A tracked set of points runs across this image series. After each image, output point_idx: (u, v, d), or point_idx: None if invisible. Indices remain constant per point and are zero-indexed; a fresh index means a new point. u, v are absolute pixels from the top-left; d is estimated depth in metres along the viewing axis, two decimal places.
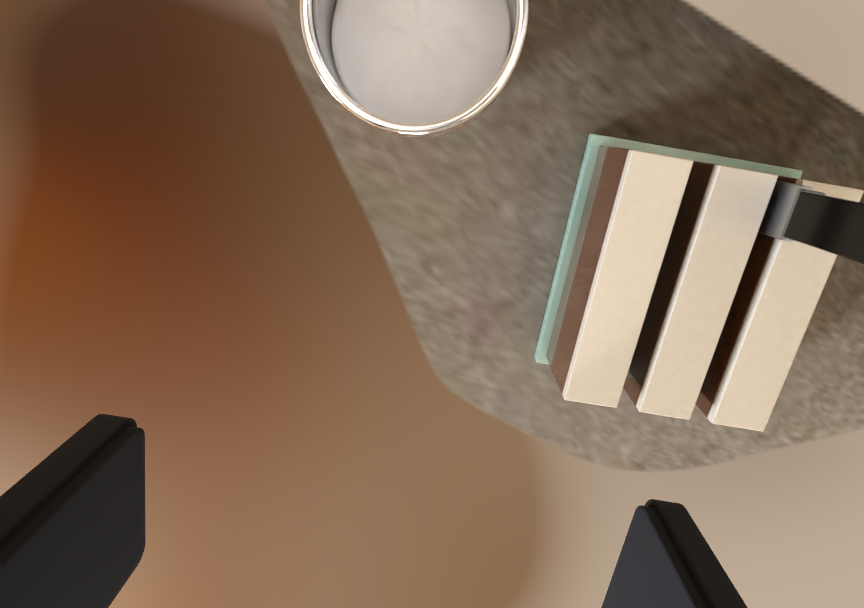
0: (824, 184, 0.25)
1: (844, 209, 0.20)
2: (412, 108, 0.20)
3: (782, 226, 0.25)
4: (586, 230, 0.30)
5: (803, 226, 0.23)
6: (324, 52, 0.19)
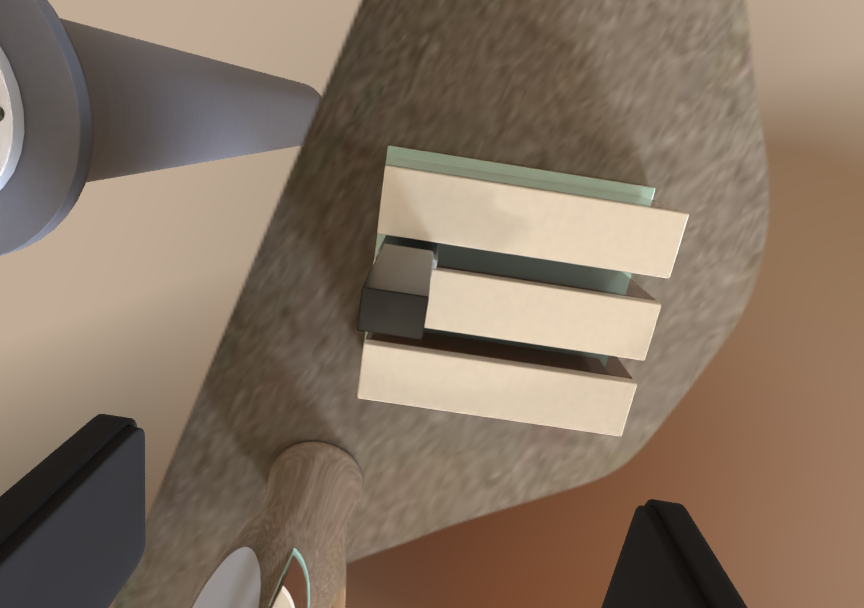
0: (380, 210, 0.23)
1: None
2: None
3: None
4: None
5: None
6: None
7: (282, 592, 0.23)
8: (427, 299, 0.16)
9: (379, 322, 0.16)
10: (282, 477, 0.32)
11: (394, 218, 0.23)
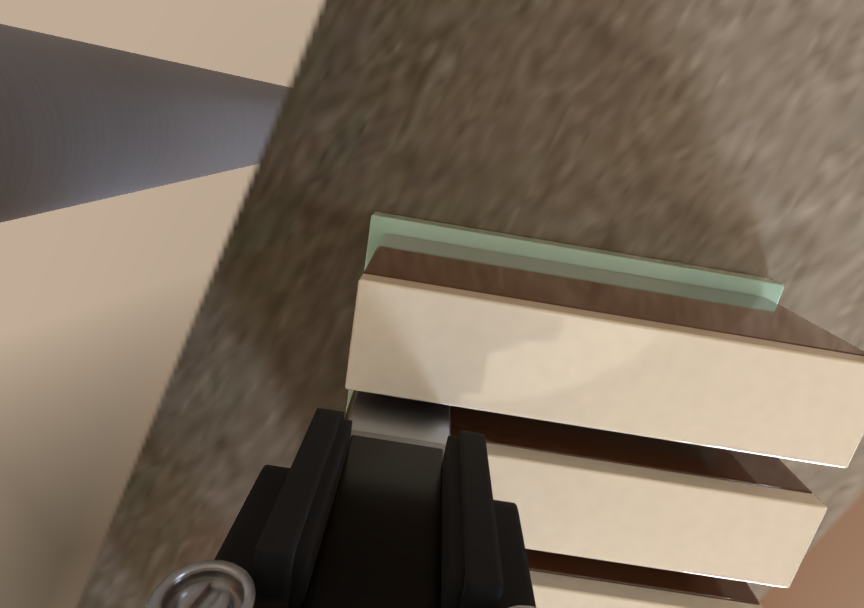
0: (351, 353, 0.13)
1: None
2: None
3: None
4: None
5: None
6: None
7: None
8: None
9: None
10: None
11: (375, 366, 0.13)
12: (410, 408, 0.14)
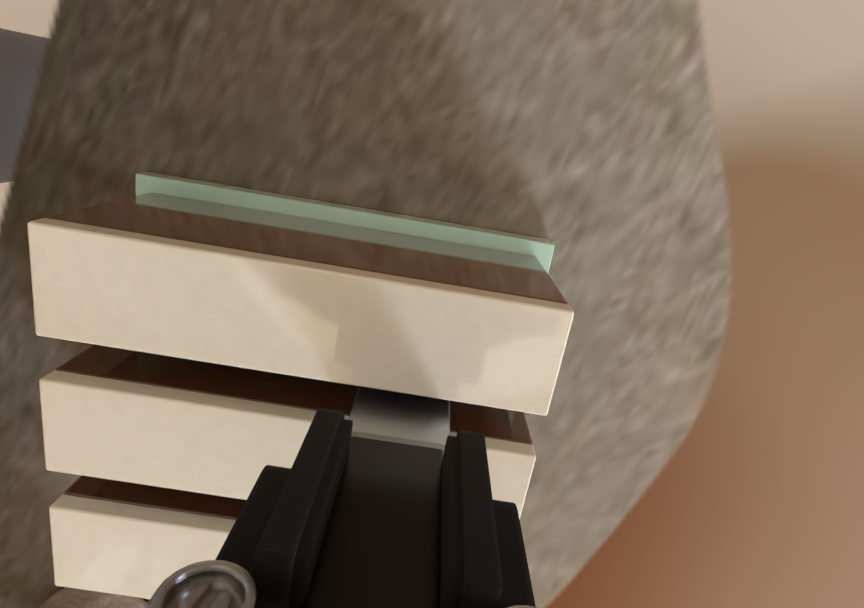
0: (34, 298, 0.13)
1: None
2: None
3: None
4: None
5: None
6: None
7: None
8: None
9: None
10: None
11: (60, 311, 0.13)
12: (410, 409, 0.14)
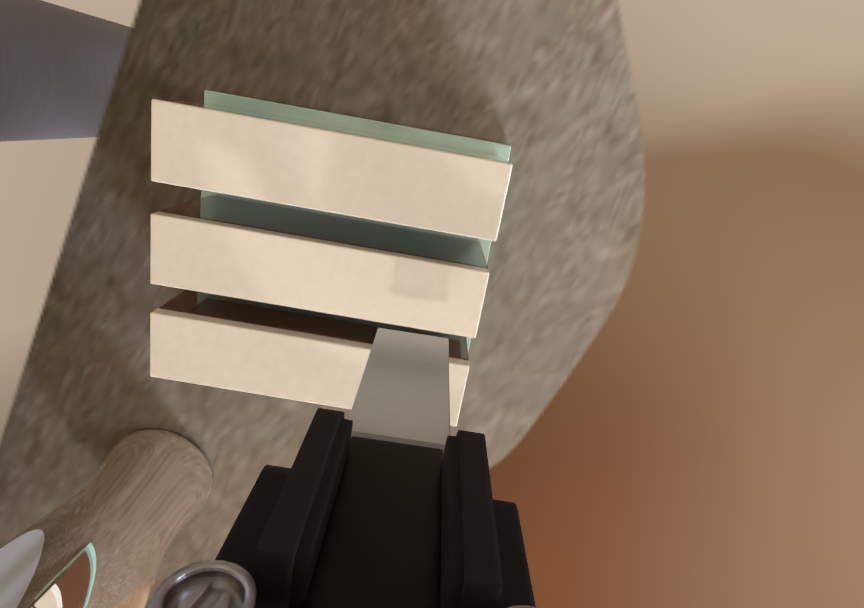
0: (152, 153, 0.20)
1: None
2: None
3: None
4: None
5: None
6: None
7: (25, 600, 0.20)
8: None
9: None
10: (105, 468, 0.28)
11: (168, 163, 0.20)
12: (410, 409, 0.14)
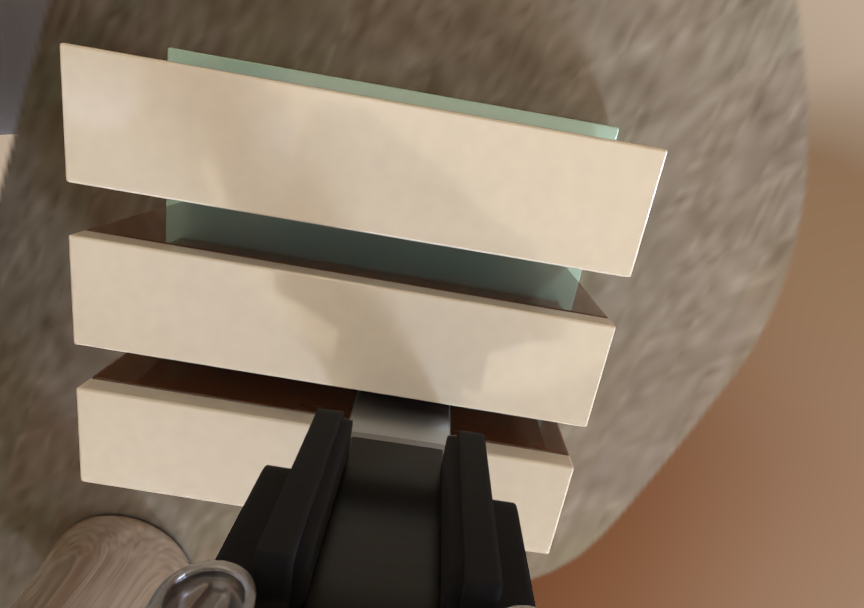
0: (66, 136, 0.12)
1: None
2: None
3: None
4: None
5: None
6: None
7: None
8: None
9: None
10: (40, 579, 0.20)
11: (94, 151, 0.12)
12: (410, 409, 0.14)
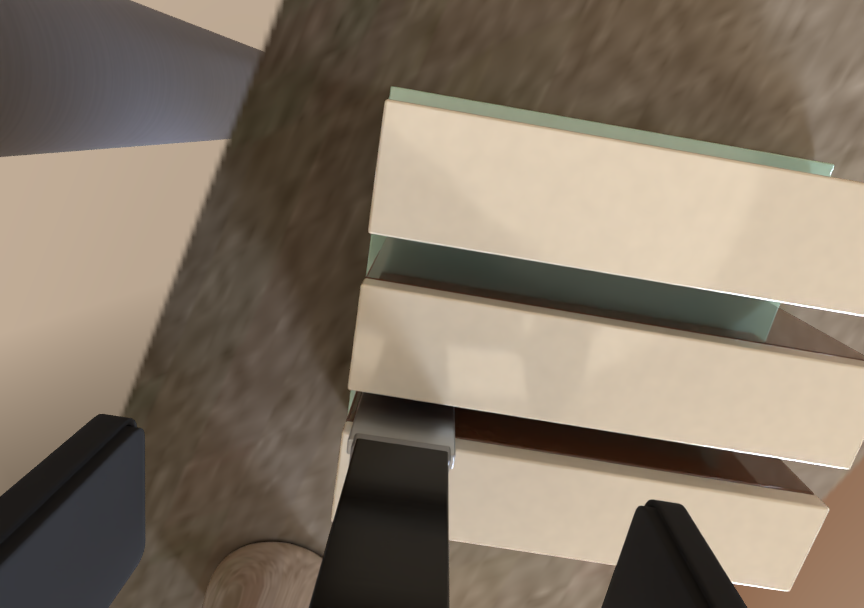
0: (375, 189, 0.12)
1: None
2: None
3: None
4: None
5: None
6: None
7: None
8: None
9: None
10: None
11: (401, 204, 0.12)
12: (414, 411, 0.14)
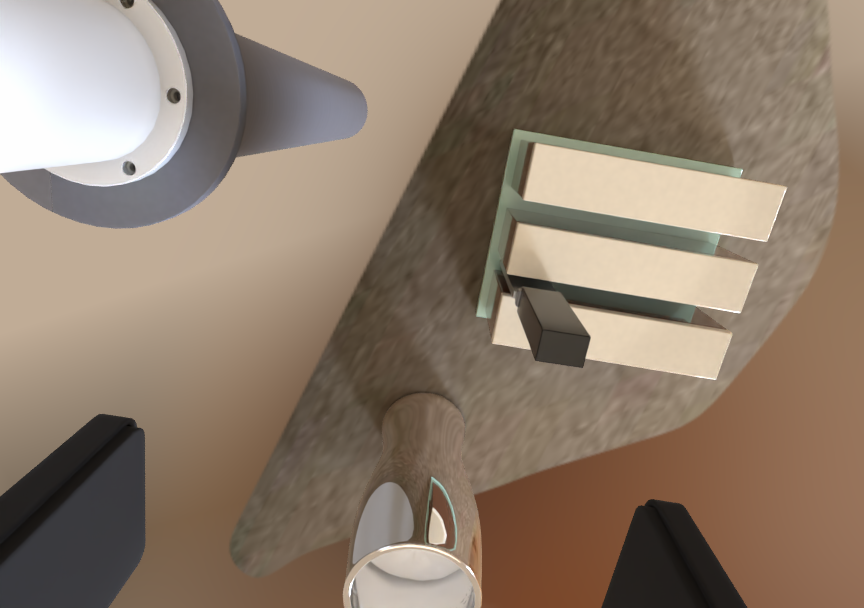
0: (528, 181, 0.28)
1: None
2: None
3: None
4: None
5: None
6: (428, 599, 0.29)
7: (442, 499, 0.27)
8: (590, 338, 0.22)
9: (552, 355, 0.22)
10: (403, 420, 0.36)
11: (539, 187, 0.28)
12: (536, 285, 0.30)
